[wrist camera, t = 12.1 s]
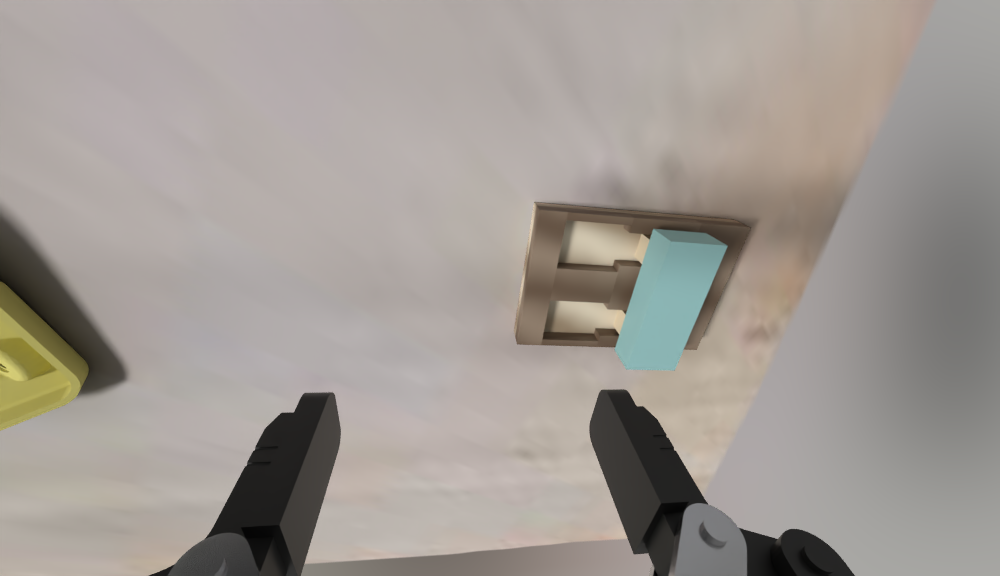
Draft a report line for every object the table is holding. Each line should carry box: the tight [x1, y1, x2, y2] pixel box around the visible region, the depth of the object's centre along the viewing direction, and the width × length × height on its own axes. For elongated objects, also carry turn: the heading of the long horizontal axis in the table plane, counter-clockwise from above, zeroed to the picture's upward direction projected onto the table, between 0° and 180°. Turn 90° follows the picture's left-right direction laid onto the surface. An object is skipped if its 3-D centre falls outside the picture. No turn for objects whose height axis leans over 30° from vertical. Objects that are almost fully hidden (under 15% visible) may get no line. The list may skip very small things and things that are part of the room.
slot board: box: [514, 202, 751, 350], centre depth 37 cm, size 14×20×2 cm
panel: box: [613, 229, 728, 370], centre depth 35 cm, size 13×5×6 cm, turn 174°
